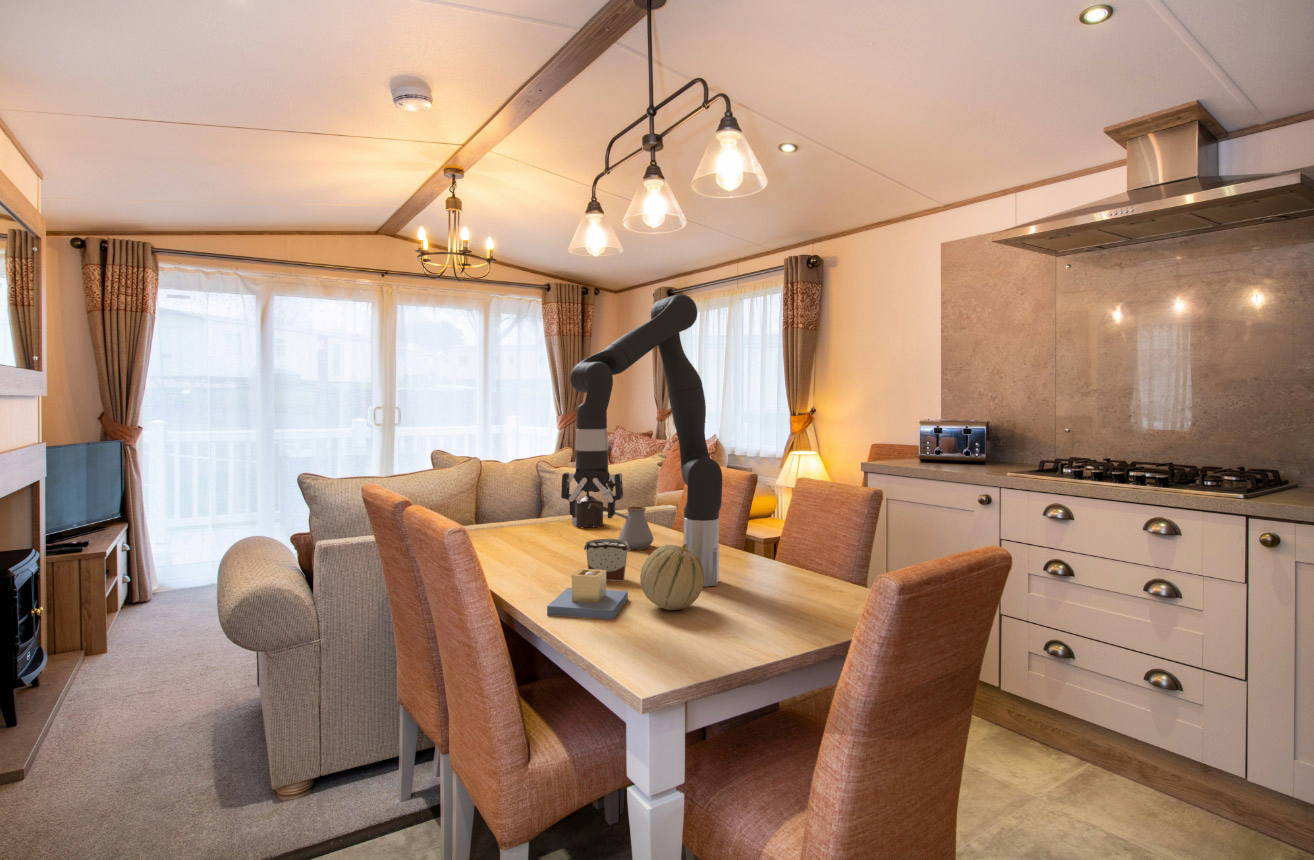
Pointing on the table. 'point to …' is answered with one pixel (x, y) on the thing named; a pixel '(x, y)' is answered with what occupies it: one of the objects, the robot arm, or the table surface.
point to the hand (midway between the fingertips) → (592, 517)
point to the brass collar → (588, 586)
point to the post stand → (588, 605)
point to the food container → (608, 557)
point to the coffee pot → (633, 527)
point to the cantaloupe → (672, 577)
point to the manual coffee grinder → (590, 510)
